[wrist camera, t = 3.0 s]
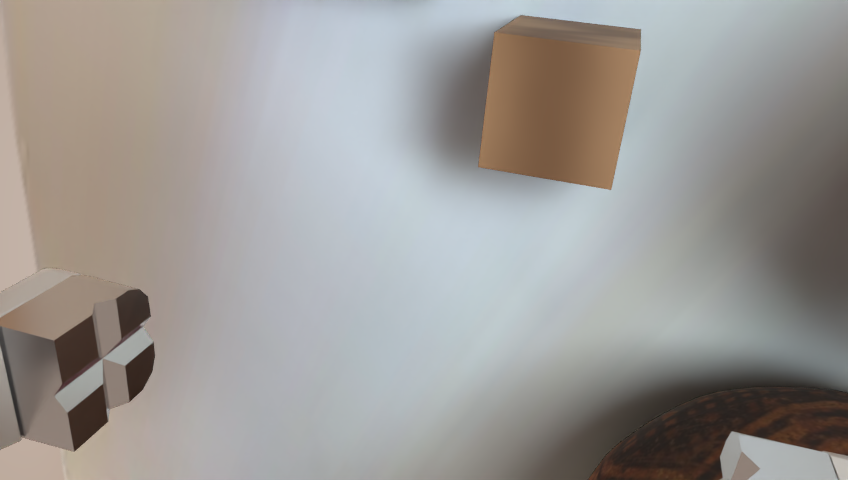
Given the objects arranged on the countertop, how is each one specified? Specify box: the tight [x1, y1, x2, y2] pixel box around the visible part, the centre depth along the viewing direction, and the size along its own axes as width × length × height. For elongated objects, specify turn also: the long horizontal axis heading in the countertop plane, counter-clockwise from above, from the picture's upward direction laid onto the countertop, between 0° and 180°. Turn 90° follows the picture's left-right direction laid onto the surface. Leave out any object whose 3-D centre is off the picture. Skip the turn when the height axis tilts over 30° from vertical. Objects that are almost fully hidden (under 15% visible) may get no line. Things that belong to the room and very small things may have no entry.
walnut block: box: [478, 15, 641, 190], centre depth 27 cm, size 5×5×6 cm
